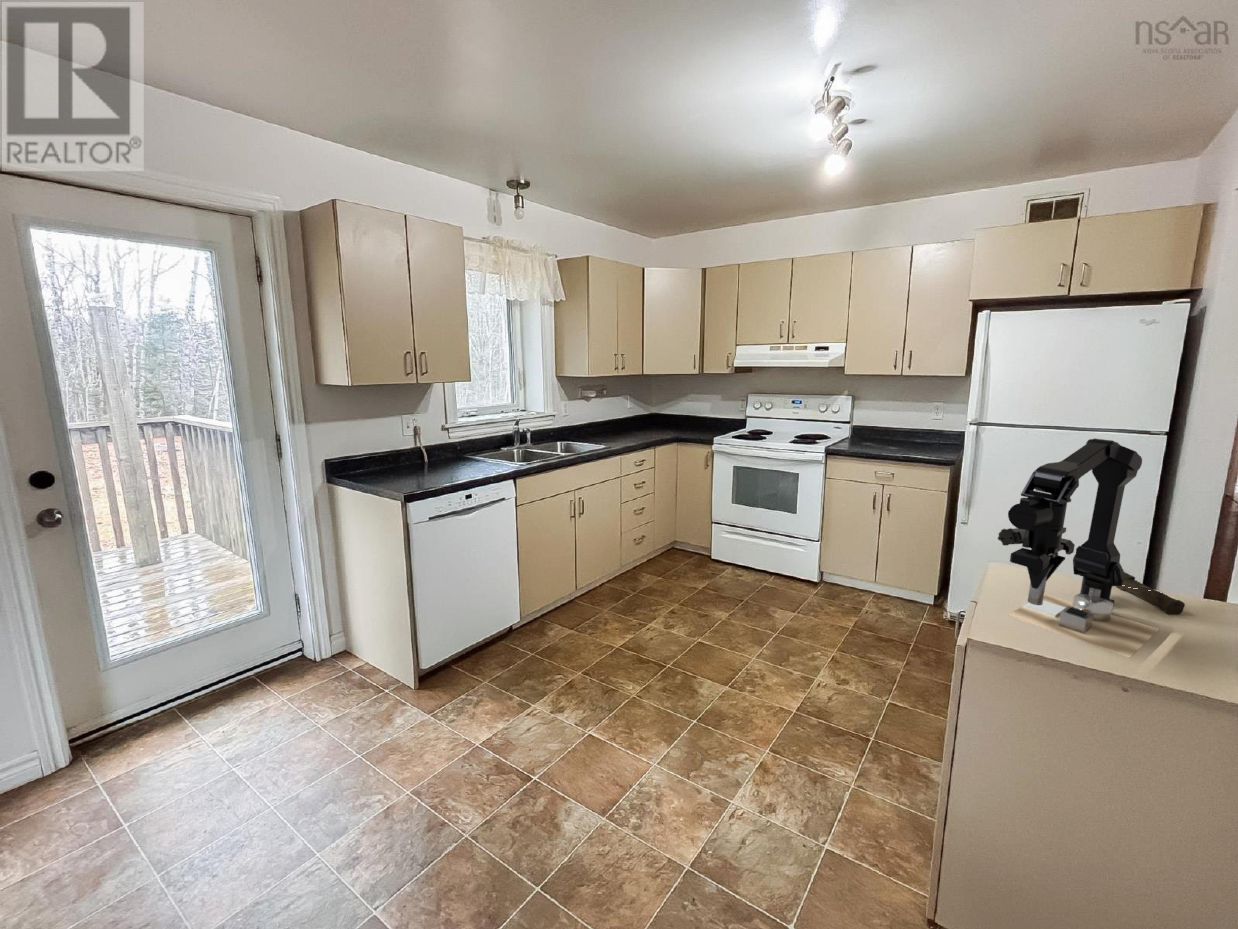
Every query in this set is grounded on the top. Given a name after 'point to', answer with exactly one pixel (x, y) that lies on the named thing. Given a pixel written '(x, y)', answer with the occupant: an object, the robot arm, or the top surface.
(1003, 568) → the top surface
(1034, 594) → the metal cylinder
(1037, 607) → the coaster
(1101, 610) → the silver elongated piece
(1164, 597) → the hand tool
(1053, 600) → the board
